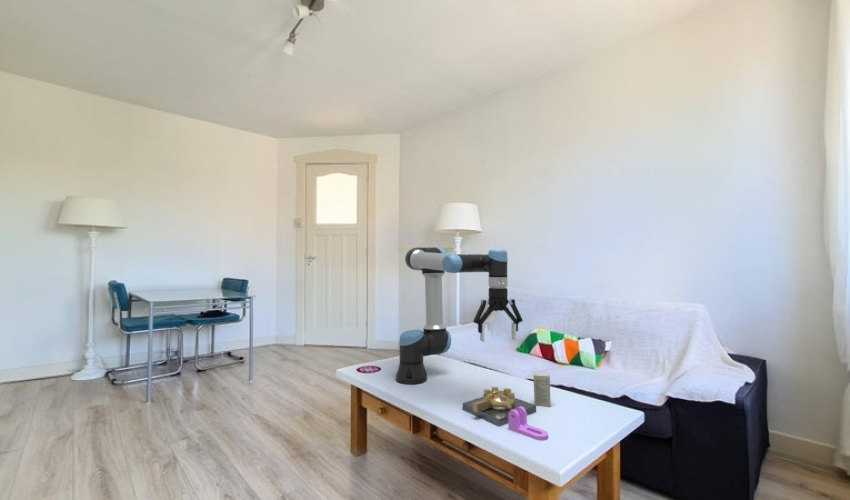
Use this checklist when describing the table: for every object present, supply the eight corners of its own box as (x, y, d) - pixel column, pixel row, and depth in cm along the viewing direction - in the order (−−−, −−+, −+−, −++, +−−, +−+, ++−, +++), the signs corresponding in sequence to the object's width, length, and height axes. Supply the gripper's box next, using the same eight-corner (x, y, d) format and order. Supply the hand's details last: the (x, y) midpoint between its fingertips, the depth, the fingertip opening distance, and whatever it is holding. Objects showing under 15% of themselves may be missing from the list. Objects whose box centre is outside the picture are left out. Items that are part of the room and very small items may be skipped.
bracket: (508, 429, 134) (508, 409, 134) (517, 424, 138) (517, 405, 138) (542, 442, 125) (542, 420, 125) (551, 437, 129) (551, 415, 129)
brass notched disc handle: (497, 395, 159) (497, 384, 159) (521, 404, 149) (521, 392, 149) (463, 406, 147) (463, 394, 147) (486, 416, 137) (486, 404, 138)
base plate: (462, 409, 151) (462, 403, 151) (499, 397, 164) (498, 391, 164) (506, 429, 133) (506, 422, 133) (544, 414, 146) (543, 408, 146)
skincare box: (550, 403, 158) (550, 373, 158) (550, 407, 154) (550, 376, 154) (534, 401, 160) (534, 371, 160) (533, 405, 156) (533, 374, 156)
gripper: (471, 288, 150) (471, 343, 150) (530, 287, 155) (531, 340, 155) (465, 287, 157) (465, 339, 157) (522, 286, 163) (522, 336, 162)
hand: (498, 340), depth 156 cm, fingers open, 13 cm apart
